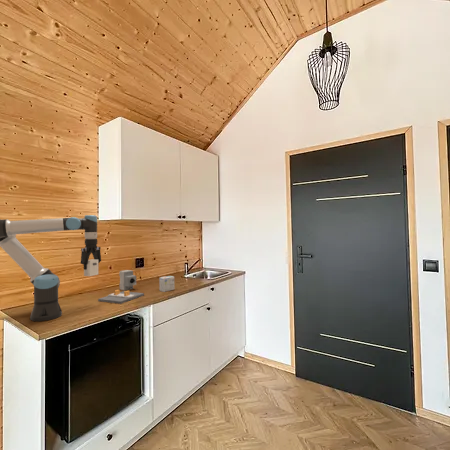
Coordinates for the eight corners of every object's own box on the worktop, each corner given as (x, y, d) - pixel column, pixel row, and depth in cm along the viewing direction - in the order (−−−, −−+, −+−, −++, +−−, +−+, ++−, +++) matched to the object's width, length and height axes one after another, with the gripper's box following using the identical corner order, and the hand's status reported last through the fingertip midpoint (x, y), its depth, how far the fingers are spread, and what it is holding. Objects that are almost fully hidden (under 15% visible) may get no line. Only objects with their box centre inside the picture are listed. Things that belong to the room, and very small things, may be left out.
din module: (90, 276, 176) (90, 260, 176) (84, 275, 178) (83, 260, 178) (99, 274, 182) (99, 259, 182) (92, 274, 184) (92, 259, 184)
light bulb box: (169, 288, 227) (169, 275, 227) (174, 289, 223) (174, 276, 223) (159, 290, 219) (158, 277, 219) (164, 292, 214) (164, 278, 214)
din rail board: (120, 303, 182) (120, 295, 182) (98, 301, 190) (98, 293, 190) (144, 295, 205) (143, 288, 205) (122, 293, 212) (122, 286, 212)
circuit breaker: (129, 291, 218) (129, 272, 218) (119, 289, 226) (119, 271, 227) (137, 289, 224) (137, 271, 224) (127, 287, 232) (127, 269, 232)
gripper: (82, 239, 170) (82, 276, 169) (107, 238, 188) (107, 271, 188) (73, 239, 172) (73, 275, 172) (98, 238, 191) (99, 270, 191)
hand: (91, 273), depth 180 cm, fingers closed on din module, 7 cm apart
